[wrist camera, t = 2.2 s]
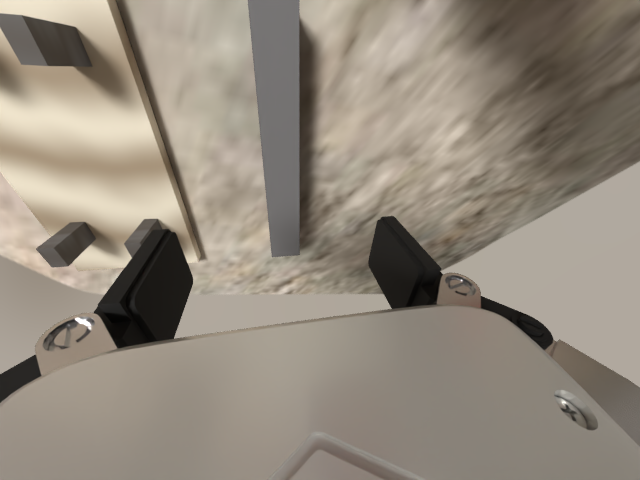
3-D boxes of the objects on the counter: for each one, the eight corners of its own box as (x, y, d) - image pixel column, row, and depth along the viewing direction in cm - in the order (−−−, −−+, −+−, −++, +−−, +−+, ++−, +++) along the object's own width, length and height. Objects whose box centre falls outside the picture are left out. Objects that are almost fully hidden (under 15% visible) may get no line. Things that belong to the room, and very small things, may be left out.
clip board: (-183, -98, 11) (-440, -193, 7) (95, -60, 13) (18, -117, 9) (85, 263, 26) (50, 300, 21) (201, 255, 28) (189, 288, 23)
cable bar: (251, 6, 16) (247, -9, 13) (293, 10, 17) (299, -3, 14) (271, 235, 28) (271, 257, 25) (296, 234, 29) (299, 255, 25)
